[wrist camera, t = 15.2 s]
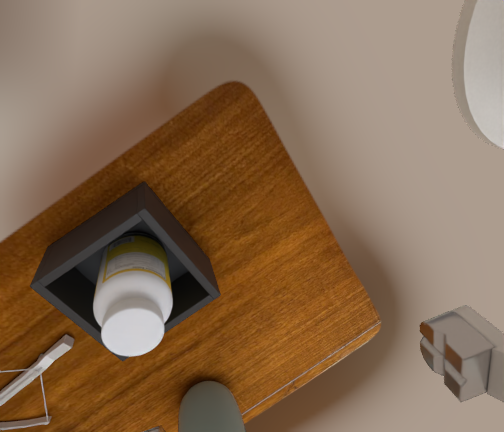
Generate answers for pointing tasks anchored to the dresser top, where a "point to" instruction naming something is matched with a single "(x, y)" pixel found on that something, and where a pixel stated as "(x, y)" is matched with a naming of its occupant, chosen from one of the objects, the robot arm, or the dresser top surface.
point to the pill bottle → (133, 294)
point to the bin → (93, 245)
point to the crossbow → (29, 376)
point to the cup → (209, 409)
